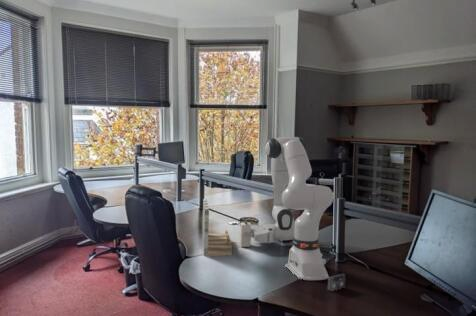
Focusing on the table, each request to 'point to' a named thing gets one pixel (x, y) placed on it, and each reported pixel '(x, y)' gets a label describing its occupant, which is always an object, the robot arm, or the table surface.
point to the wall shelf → (214, 238)
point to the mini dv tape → (336, 282)
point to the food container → (249, 220)
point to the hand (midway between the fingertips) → (243, 232)
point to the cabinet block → (244, 240)
